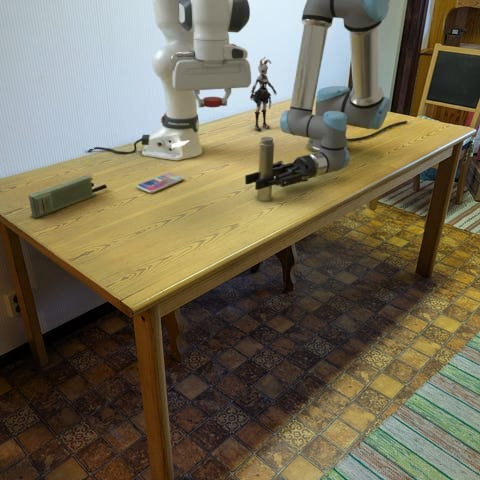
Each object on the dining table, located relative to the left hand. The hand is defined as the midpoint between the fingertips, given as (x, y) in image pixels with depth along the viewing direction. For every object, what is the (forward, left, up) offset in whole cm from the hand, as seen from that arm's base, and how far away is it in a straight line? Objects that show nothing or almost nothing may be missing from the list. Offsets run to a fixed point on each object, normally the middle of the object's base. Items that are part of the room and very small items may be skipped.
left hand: (212, 106), depth 133 cm
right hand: (+10, +7, -24) cm, 27 cm away
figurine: (+1, +82, -31) cm, 87 cm away
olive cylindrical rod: (+13, +11, -31) cm, 35 cm away
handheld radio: (-43, -4, -31) cm, 52 cm away
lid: (0, 0, +2) cm, 2 cm away
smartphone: (-21, +15, -31) cm, 40 cm away
